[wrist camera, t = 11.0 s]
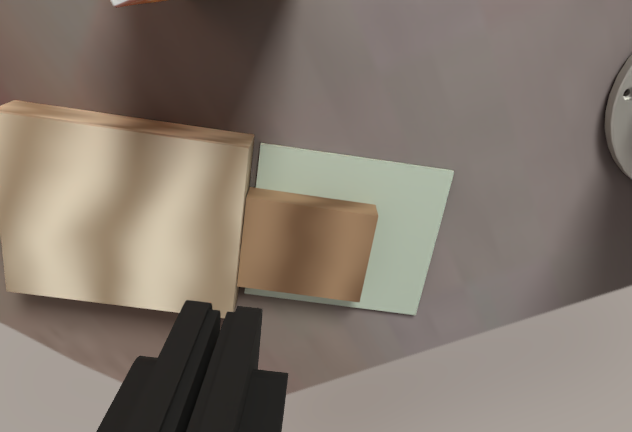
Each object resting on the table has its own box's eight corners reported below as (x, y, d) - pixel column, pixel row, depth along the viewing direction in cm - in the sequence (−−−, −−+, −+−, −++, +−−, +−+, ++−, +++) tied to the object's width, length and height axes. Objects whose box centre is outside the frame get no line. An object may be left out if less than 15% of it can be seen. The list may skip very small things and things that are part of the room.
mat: (452, 170, 37) (454, 172, 37) (414, 312, 42) (415, 315, 41) (261, 142, 36) (260, 144, 36) (245, 290, 41) (244, 293, 41)
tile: (375, 204, 38) (378, 216, 36) (357, 287, 40) (359, 302, 39) (249, 186, 37) (246, 197, 35) (240, 272, 40) (236, 286, 38)
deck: (254, 134, 36) (248, 148, 33) (238, 295, 41) (231, 319, 38) (14, 100, 35) (-13, 110, 32) (29, 268, 40) (6, 291, 37)
